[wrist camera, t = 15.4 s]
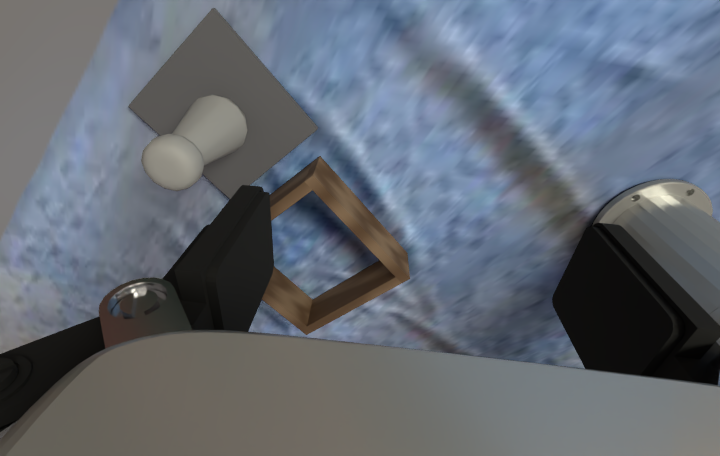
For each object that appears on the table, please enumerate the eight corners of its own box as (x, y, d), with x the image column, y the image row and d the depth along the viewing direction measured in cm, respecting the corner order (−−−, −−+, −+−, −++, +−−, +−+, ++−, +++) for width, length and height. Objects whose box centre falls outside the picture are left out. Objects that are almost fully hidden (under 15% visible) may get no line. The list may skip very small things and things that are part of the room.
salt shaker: (244, 153, 40) (195, 214, 30) (193, 131, 39) (122, 186, 28) (260, 105, 37) (211, 153, 27) (204, 79, 36) (130, 118, 25)
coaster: (318, 127, 39) (317, 129, 39) (232, 197, 44) (231, 200, 44) (214, 8, 33) (212, 8, 33) (131, 104, 39) (128, 106, 38)
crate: (407, 253, 48) (409, 278, 44) (312, 308, 54) (306, 334, 50) (319, 155, 41) (313, 175, 37) (222, 231, 47) (207, 255, 43)
